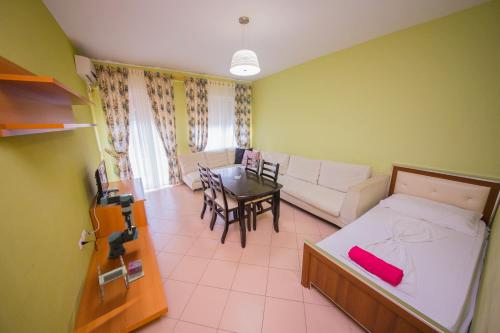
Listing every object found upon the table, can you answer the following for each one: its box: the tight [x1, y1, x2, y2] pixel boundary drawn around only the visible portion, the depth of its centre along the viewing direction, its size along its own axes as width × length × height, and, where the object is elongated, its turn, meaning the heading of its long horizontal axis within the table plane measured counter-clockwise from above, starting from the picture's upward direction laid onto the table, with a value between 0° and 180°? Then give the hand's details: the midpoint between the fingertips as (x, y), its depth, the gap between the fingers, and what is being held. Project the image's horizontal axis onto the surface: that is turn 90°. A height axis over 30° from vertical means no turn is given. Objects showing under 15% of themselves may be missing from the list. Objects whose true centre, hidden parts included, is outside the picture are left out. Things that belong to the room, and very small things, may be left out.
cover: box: [98, 265, 128, 287], centre depth 144 cm, size 11×18×5 cm, turn 133°
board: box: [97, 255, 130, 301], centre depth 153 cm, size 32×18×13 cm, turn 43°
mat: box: [128, 270, 145, 284], centre depth 160 cm, size 9×12×1 cm
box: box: [127, 259, 143, 276], centre depth 167 cm, size 10×6×12 cm
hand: (129, 231), depth 171 cm, fingers open, 13 cm apart
